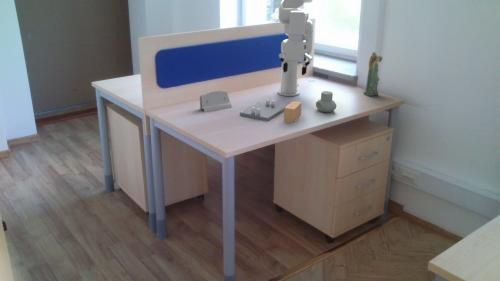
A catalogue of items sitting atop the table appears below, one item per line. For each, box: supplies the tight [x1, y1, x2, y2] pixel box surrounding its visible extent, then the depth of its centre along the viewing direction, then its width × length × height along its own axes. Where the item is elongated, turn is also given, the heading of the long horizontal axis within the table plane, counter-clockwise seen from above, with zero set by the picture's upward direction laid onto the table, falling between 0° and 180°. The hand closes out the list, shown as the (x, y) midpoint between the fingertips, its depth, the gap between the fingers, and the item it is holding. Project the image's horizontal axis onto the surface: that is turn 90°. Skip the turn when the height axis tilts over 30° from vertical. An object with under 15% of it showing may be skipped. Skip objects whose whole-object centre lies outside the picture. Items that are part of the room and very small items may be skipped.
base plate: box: [239, 98, 286, 122], centre depth 248 cm, size 20×16×4 cm
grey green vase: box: [315, 90, 337, 113], centre depth 252 cm, size 11×8×10 cm
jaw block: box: [283, 100, 302, 123], centre depth 241 cm, size 12×5×7 cm, turn 157°
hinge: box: [199, 90, 232, 113], centre depth 254 cm, size 17×5×10 cm, turn 121°
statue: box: [363, 51, 383, 97], centre depth 278 cm, size 7×8×25 cm
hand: (294, 73), depth 233 cm, fingers open, 9 cm apart
